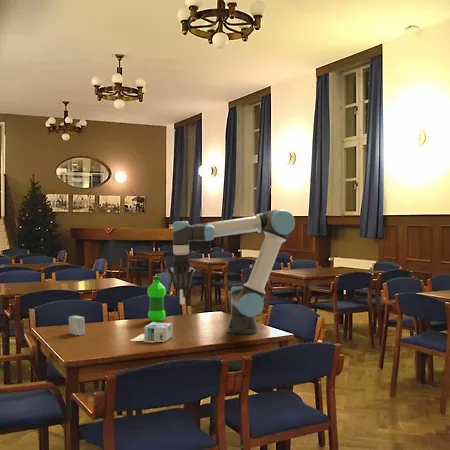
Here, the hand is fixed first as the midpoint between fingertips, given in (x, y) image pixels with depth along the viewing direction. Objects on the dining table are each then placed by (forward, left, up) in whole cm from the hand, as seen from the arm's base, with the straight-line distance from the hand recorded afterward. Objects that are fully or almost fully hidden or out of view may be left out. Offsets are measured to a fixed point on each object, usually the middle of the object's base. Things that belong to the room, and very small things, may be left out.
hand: (182, 303), depth 272 cm
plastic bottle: (+28, -42, -18) cm, 54 cm away
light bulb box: (+6, 0, -14) cm, 15 cm away
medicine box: (+55, -1, -18) cm, 58 cm away
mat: (+15, 0, -17) cm, 23 cm away
